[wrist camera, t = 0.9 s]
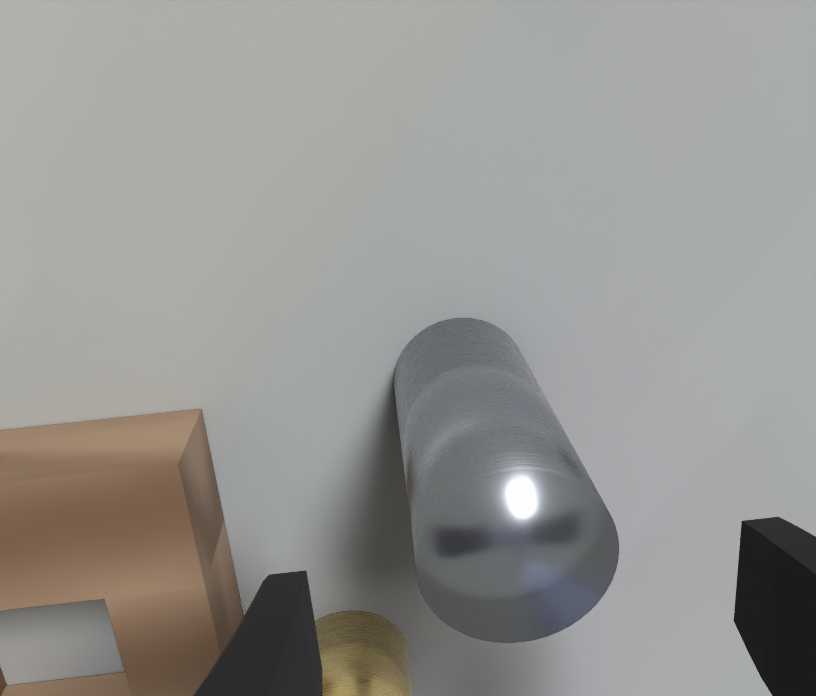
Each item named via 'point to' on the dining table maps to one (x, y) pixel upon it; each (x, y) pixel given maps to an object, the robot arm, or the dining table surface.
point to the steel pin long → (496, 490)
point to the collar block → (121, 545)
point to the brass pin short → (362, 656)
